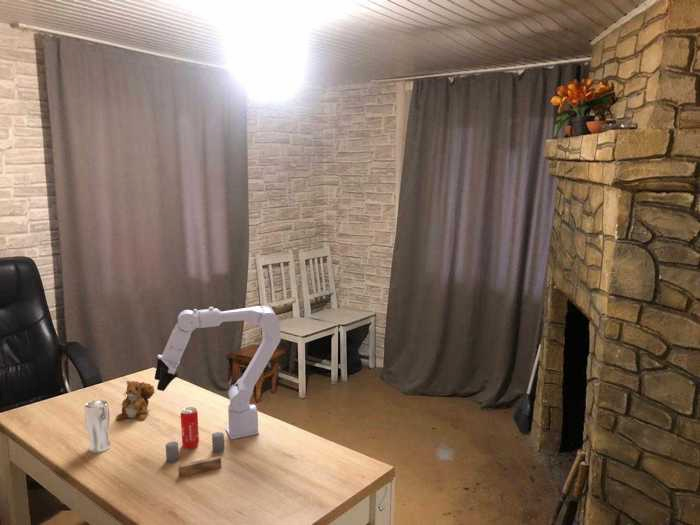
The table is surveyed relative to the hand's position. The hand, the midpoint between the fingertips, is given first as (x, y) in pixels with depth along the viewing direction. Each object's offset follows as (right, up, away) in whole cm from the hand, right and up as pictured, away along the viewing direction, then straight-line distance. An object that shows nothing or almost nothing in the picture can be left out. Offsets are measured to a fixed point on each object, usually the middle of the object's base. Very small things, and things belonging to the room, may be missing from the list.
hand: (158, 384), depth 173 cm
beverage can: (+9, -20, +2) cm, 22 cm away
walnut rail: (+17, -23, -12) cm, 31 cm away
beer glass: (-19, -21, +1) cm, 28 cm away
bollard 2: (+19, -21, 0) cm, 28 cm away
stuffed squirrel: (-16, -16, +25) cm, 34 cm away
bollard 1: (+6, -22, -6) cm, 23 cm away
